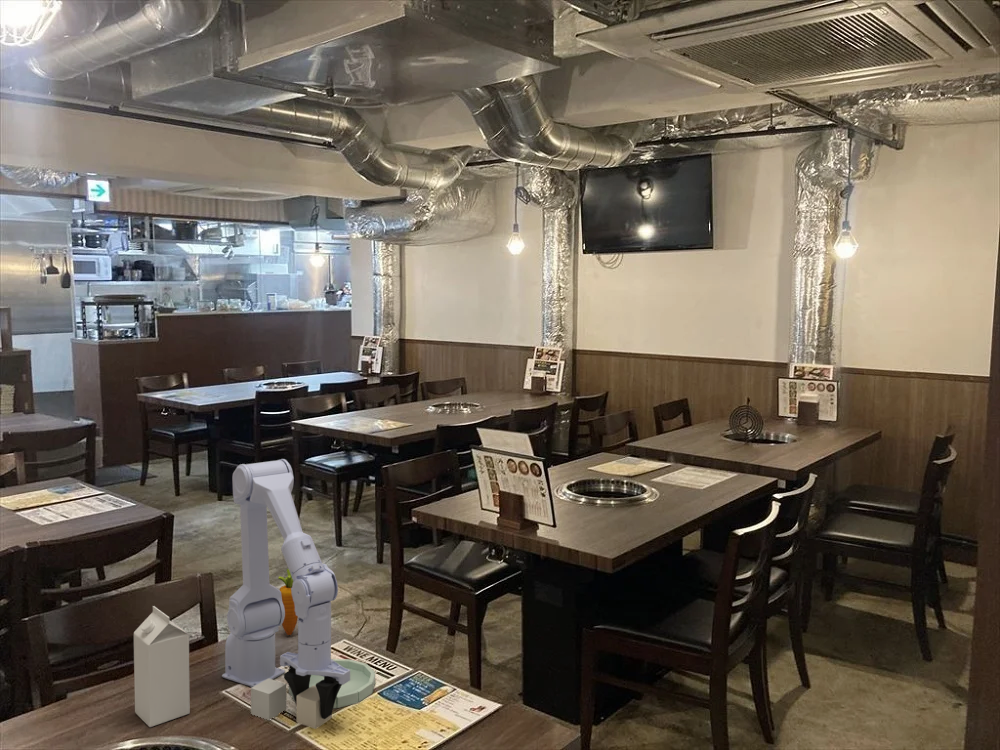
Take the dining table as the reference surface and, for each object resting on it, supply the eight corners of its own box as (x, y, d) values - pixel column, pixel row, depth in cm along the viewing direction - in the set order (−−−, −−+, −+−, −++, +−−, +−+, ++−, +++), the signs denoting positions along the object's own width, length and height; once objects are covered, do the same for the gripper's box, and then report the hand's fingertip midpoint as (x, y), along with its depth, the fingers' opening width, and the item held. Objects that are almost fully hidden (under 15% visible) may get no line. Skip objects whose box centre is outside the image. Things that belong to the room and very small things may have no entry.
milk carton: (174, 699, 147) (172, 601, 145) (190, 714, 142) (188, 612, 140) (134, 713, 142) (132, 611, 140) (149, 728, 137) (148, 622, 135)
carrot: (294, 641, 173) (294, 575, 172) (273, 639, 174) (273, 573, 173) (304, 632, 178) (304, 568, 177) (284, 630, 179) (284, 566, 178)
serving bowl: (272, 694, 149) (272, 684, 149) (327, 662, 163) (327, 652, 163) (338, 716, 142) (338, 705, 142) (390, 680, 156) (390, 670, 156)
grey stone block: (250, 714, 142) (250, 688, 142) (268, 704, 146) (268, 678, 146) (269, 720, 140) (269, 694, 140) (286, 710, 144) (286, 683, 144)
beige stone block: (296, 722, 140) (296, 695, 139) (313, 711, 144) (313, 685, 143) (315, 729, 138) (315, 701, 137) (332, 717, 142) (332, 691, 141)
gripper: (267, 638, 139) (268, 711, 140) (331, 656, 132) (331, 733, 134) (295, 624, 145) (295, 694, 147) (357, 641, 139) (357, 714, 140)
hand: (314, 712), depth 140 cm, fingers open, 5 cm apart
